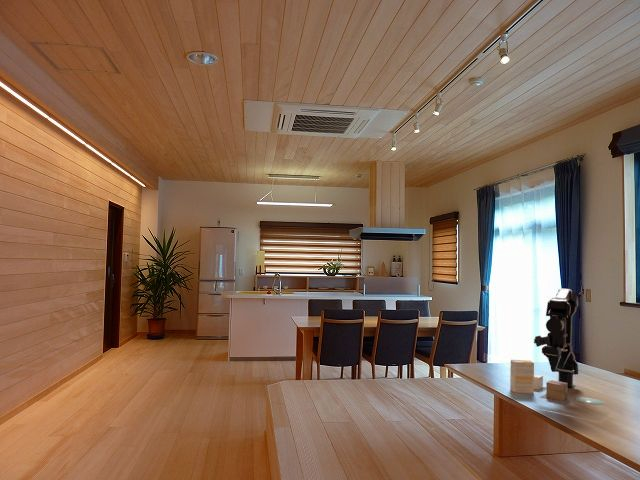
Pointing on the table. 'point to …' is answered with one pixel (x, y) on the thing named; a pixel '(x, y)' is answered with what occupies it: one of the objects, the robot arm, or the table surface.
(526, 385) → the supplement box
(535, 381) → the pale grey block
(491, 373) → the table surface
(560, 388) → the walnut block
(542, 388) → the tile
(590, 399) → the pale green disc
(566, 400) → the tile
